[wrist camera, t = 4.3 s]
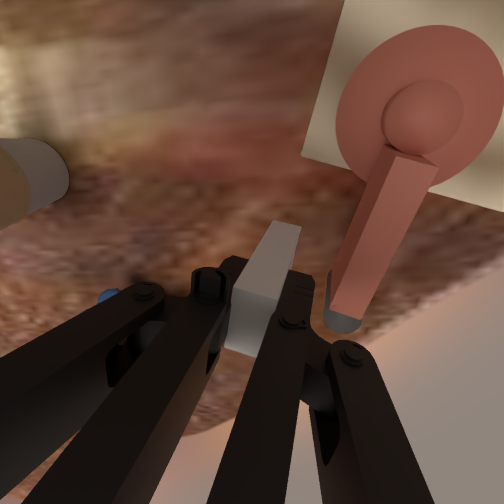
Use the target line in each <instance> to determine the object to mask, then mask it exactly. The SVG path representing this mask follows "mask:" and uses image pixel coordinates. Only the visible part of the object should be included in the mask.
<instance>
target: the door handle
mask: <svg viewBox="0 0 504 504" xmlns="http://www.w3.org/2000/svg"><path fill="white" fill-rule="evenodd" d="M503 107H504V76H503V71H502V68H501V65H500V63H499V61H498V58H497V57H496V55H495V54H494V52H493V51H492V49H491V48H490V47H489V46H488V45H487V44H486V43H485V42H484V41H483V40H482V39H480V38H479V37H478V36H476V35H475V34H473V33H471V32H469V31H467V30H465V29H461V28H458V27H454V26H447V25H428V26H422V27H417V28H413V29H410V30H407V31H404V32H402V33H400V34H398V35H395V36H393V37H392V38H390V39H388V40H387V41H385V42H383V43H382V44H381V45H379V46H378V47H377V48H375V49H374V50H373V51H372V52H371V53H370V54H369V55H367V56H366V57H365V58H364V59H363V61H362V62H361V63H360V64H359V65H358V66H357V68H356V69H355V70H354V72H353V73H352V75H351V76H350V78H349V80H348V82H347V84H346V85H345V87H344V89H343V92H342V95H341V97H340V100H339V104H338V108H337V114H336V138H337V143H338V147H339V150H340V152H341V155H342V157H343V159H344V160H345V162H346V164H347V165H348V166H349V168H350V169H351V170H352V171H353V172H354V173H355V174H356V175H357V176H358V177H359V178H361V179H362V180H364V181H365V182H367V185H366V188H365V190H364V193H363V195H362V198H361V200H360V202H359V205H358V207H357V210H356V212H355V215H354V217H353V219H352V222H351V224H350V227H349V229H348V232H347V234H346V236H345V239H344V241H343V244H342V246H341V249H340V251H339V253H338V256H337V258H336V261H335V263H334V266H333V268H332V270H331V271H330V272H329V274H328V277H327V288H326V300H325V311H324V321H325V324H326V325H327V326H328V328H330V329H331V330H333V331H335V332H337V333H343V334H346V333H351V332H354V331H355V330H357V329H358V328H359V327H360V325H361V322H362V317H363V315H364V313H365V311H366V309H367V307H368V305H369V303H370V301H371V299H372V297H373V295H374V293H375V291H376V290H377V288H378V286H379V284H380V282H381V280H382V278H383V276H384V274H385V272H386V270H387V268H388V266H389V264H390V263H391V261H392V259H393V257H394V255H395V253H396V251H397V249H398V247H399V245H400V243H401V241H402V239H403V237H404V236H405V234H406V232H407V230H408V228H409V226H410V224H411V222H412V220H413V218H414V216H415V214H416V212H417V210H418V209H419V207H420V205H421V203H422V201H423V199H424V197H425V195H426V193H427V191H428V189H429V187H432V186H435V185H438V184H440V183H442V182H444V181H446V180H448V179H450V178H452V177H453V176H455V175H456V174H458V173H460V172H461V171H462V170H463V169H465V168H466V167H467V166H468V165H470V164H471V163H472V162H473V161H474V160H475V159H476V158H477V157H478V156H479V154H480V153H481V152H482V151H483V150H484V148H485V147H486V146H487V144H488V143H489V141H490V139H491V138H492V136H493V134H494V132H495V130H496V128H497V126H498V124H499V121H500V118H501V115H502V111H503Z"/></svg>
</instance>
